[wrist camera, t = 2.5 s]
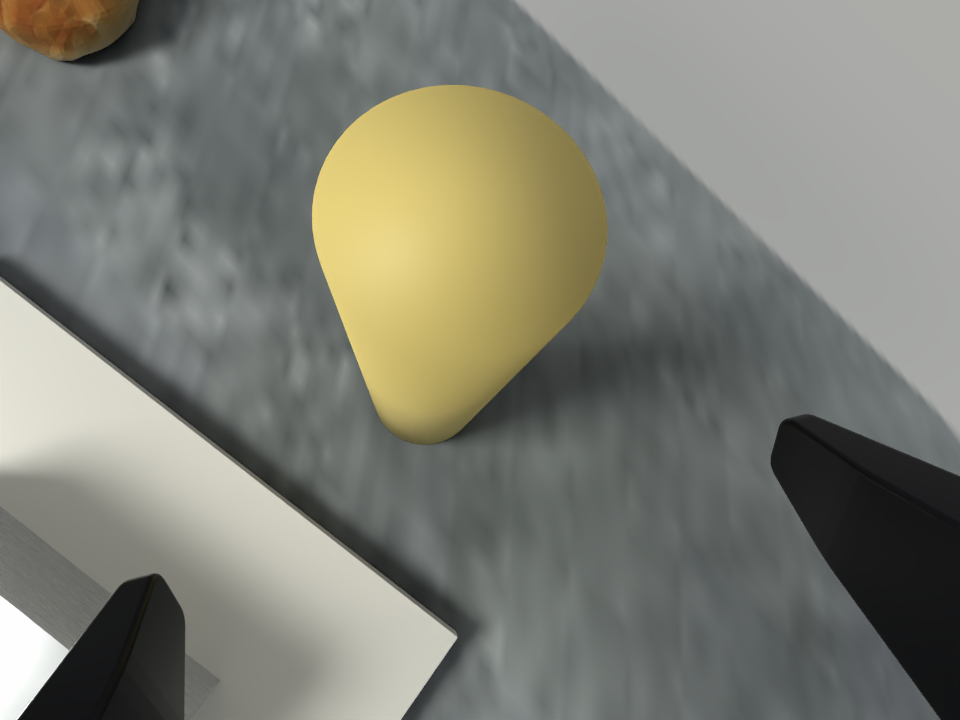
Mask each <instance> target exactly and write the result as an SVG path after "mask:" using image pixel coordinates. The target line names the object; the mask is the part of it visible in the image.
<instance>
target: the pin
mask: <svg viewBox="0 0 960 720" xmlns="http://www.w3.org/2000/svg"><path fill="white" fill-rule="evenodd" d="M312 227H313V235H314V241H315V247H316V251H317V254H318V257H319V260H320V263H321V266H322V269H323V272H324V274H325V277H326V280H327V282H328V285H329V288H330V290H331V293H332V295H333V298H334V301H335V303H336V306H337V309H338V311H339V314H340V316H341V319H342V322H343V324H344V327H345V330H346V332H347V335H348V337H349V340H350V343H351V345H352V348H353V351H354V353H355V356H356V358H357V361H358V364H359V366H360V369H361V372H362V374H363V377H364V379H365V382H366V385H367V387H368V390H369V393H370V395H371V398H372V401H373V403H374V406H375V408H376V411H377V413H378V416H379V418H380V419H381V421H382V423H383V424H384V425H385V426H386V428H387V429H388V430H389V431H390V432H392V433H393V434H394V435H395V436H397V437H398V438H400V439H402V440H404V441H407V442H410V443H414V444H421V445H428V444H435V443H440V442H442V441H445V440H447V439H449V438H451V437H453V436H454V435H456V434H457V433H458V432H459V431H460V430H461V429H462V428H463V427H464V426H465V425H466V424H467V423H468V422H469V421H470V420H471V419H472V418H473V417H474V416H475V415H476V414H477V413H478V412H479V411H480V410H481V409H482V408H483V407H484V406H485V405H486V404H487V403H488V402H489V401H490V400H491V399H492V398H493V397H494V396H495V395H496V394H497V393H498V392H499V391H500V390H501V389H502V388H503V387H504V386H505V385H506V384H507V383H508V382H509V381H510V380H511V379H512V378H513V377H514V376H515V375H516V374H517V373H518V372H519V371H520V370H521V369H522V368H523V367H524V366H525V365H526V364H527V363H528V362H529V361H530V360H531V359H532V358H533V357H534V356H535V355H536V354H537V353H538V352H539V351H540V350H541V349H542V348H543V347H544V346H545V345H546V344H547V343H548V342H549V341H550V340H551V339H552V338H553V337H554V336H555V335H556V334H557V333H558V332H559V331H560V330H561V329H562V328H563V327H564V326H565V325H566V324H567V323H568V322H569V321H570V320H571V319H572V318H573V317H574V316H575V315H576V313H577V312H578V311H579V310H580V309H581V308H582V306H583V305H584V303H585V302H586V300H587V298H588V297H589V295H590V294H591V292H592V290H593V288H594V286H595V284H596V282H597V279H598V277H599V275H600V272H601V268H602V265H603V261H604V258H605V251H606V245H607V216H606V208H605V203H604V199H603V195H602V191H601V188H600V185H599V183H598V180H597V178H596V175H595V173H594V171H593V169H592V167H591V166H590V164H589V162H588V160H587V158H586V157H585V155H584V154H583V152H582V151H581V150H580V148H579V147H578V146H577V144H576V143H575V142H574V140H573V139H572V138H571V137H570V136H569V135H568V134H567V133H566V132H565V131H564V130H563V129H562V128H561V127H560V126H559V125H558V124H556V123H555V122H554V121H553V120H552V119H550V118H549V117H548V116H546V115H545V114H543V113H542V112H540V111H539V110H537V109H536V108H534V107H533V106H531V105H529V104H527V103H525V102H523V101H521V100H519V99H517V98H514V97H512V96H509V95H506V94H504V93H501V92H498V91H494V90H489V89H485V88H481V87H473V86H465V85H441V86H432V87H425V88H421V89H416V90H412V91H408V92H405V93H403V94H400V95H397V96H395V97H392V98H390V99H388V100H386V101H384V102H382V103H380V104H378V105H377V106H375V107H373V108H372V109H370V110H369V111H368V112H366V113H365V114H363V115H362V116H361V117H359V118H358V119H357V120H356V121H355V122H354V123H353V124H352V125H351V126H350V127H349V128H348V129H347V130H346V131H345V132H344V133H343V134H342V136H341V137H340V138H339V139H338V141H337V142H336V143H335V145H334V146H333V148H332V150H331V151H330V153H329V155H328V156H327V158H326V160H325V162H324V165H323V167H322V169H321V172H320V174H319V177H318V181H317V184H316V188H315V192H314V199H313V207H312Z"/></svg>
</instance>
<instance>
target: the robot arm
mask: <svg viewBox="0 0 960 720" xmlns="http://www.w3.org/2000/svg"><path fill="white" fill-rule="evenodd" d="M771 466H772V470H773V472H774V474H775V476H776V478H777V480H778V481H779V483H780V485H781V487H782V488H783V490H784V492H785V493H786V495H787V497H788V498H789V500H790V502H791V504H792V505H793V507H794V509H795V510H796V512H797V514H798V516H799V517H800V519H801V521H802V522H803V524H804V526H805V527H806V529H807V531H808V533H809V534H810V536H811V538H812V539H813V541H814V543H815V545H816V546H817V548H818V549H819V551H820V553H821V554H822V556H823V557H824V559H825V560H826V562H827V563H828V565H829V566H830V568H831V569H832V571H833V572H834V573H835V575H836V576H837V578H838V579H839V580H840V582H841V583H842V584H843V586H844V587H845V589H846V590H847V591H848V593H849V594H850V595H851V597H852V598H853V600H854V601H855V602H856V604H857V605H858V607H859V608H860V609H861V611H862V612H863V613H864V615H865V616H866V618H867V619H868V620H869V622H870V623H871V624H872V626H873V627H874V629H875V630H876V631H877V633H878V634H879V635H880V637H881V638H882V640H883V641H884V642H885V644H886V645H887V646H888V648H889V649H890V651H891V652H892V653H893V655H894V656H895V657H896V659H897V660H898V662H899V663H900V664H901V666H902V667H903V668H904V670H905V671H906V673H907V674H908V675H909V677H910V678H911V679H912V681H913V682H914V684H915V685H916V686H917V688H918V689H919V690H920V692H921V693H922V695H923V696H924V697H925V699H926V700H927V701H928V703H929V704H930V706H931V707H932V708H933V710H934V711H935V712H936V714H937V715H938V717H939V718H940V719H941V720H960V476H958V475H956V474H953V473H951V472H948V471H946V470H944V469H941V468H939V467H936V466H934V465H932V464H929V463H927V462H924V461H922V460H920V459H917V458H915V457H912V456H910V455H908V454H905V453H903V452H900V451H898V450H896V449H893V448H891V447H888V446H886V445H884V444H881V443H879V442H876V441H874V440H872V439H869V438H867V437H864V436H862V435H860V434H857V433H855V432H852V431H850V430H848V429H845V428H843V427H840V426H838V425H836V424H833V423H831V422H828V421H826V420H824V419H821V418H819V417H816V416H814V415H809V414H805V415H800V416H796V417H792V418H788V419H785V420H783V421H782V423H781V424H780V426H779V429H778V432H777V436H776V440H775V443H774V447H773V451H772V454H771ZM185 631H186V627H185V617H184V613H183V610H182V608H181V606H180V604H179V602H178V601H177V599H176V597H175V596H174V594H173V592H172V591H171V589H170V588H169V586H168V584H167V583H166V581H165V579H164V578H163V577H162V576H161V575H160V574H157V573H152V574H148V575H143V576H139V577H135V578H131V579H128V580H126V581H124V582H123V583H122V584H121V585H120V586H119V587H118V588H117V589H116V591H115V592H114V593H113V595H112V596H111V597H110V598H109V600H108V601H107V602H106V604H105V605H104V606H103V608H102V609H101V610H100V611H99V613H98V614H97V615H96V617H95V618H94V619H93V621H92V622H91V623H90V625H89V626H88V627H87V628H86V630H85V631H84V632H83V634H82V635H81V636H80V638H79V639H78V640H77V642H76V643H75V644H74V645H73V647H72V648H71V649H70V651H69V652H68V653H67V655H66V656H65V657H64V658H63V660H62V661H61V662H60V664H59V665H58V666H57V668H56V669H55V670H54V672H53V673H52V674H51V675H50V677H49V678H48V679H47V681H46V682H45V683H44V685H43V686H42V687H41V689H40V690H39V691H38V692H37V694H36V695H35V696H34V698H33V699H32V700H31V702H30V703H29V704H28V705H27V707H26V708H25V709H24V711H23V712H22V713H21V715H20V716H19V717H18V719H17V720H184V714H185Z"/></svg>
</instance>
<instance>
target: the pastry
mask: <svg viewBox="0 0 960 720" xmlns="http://www.w3.org/2000/svg"><path fill="white" fill-rule="evenodd" d="M138 3H139V0H0V29H2V30H3V31H4V32H5V33H6V34H8V35H9V36H10V37H11V38H13V39H14V40H16V41H17V42H18V43H20V44H22V45H24V46H26V47H28V48H30V49H32V50H35V51H37V52H39V53H41V54H43V55H45V56H47V57H49V58H51V59H53V60H57V61H74V60H75V59H78V58H80V57H82V56H84V55H87V54H90V53H93V52H96V51H98V50H101V49H103V48H105V47H107V46H109V45H110V44H112V43H113V42H114V41H115V40H117V39H118V38H119V37H120V36H121V35H122V34H123V33H124V32H125V31H126V30H127V29H128V28H129V27H130V26H131V25H132V24H133V22H134V20H135V17H136V11H137V6H138Z"/></svg>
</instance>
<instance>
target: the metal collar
mask: <svg viewBox="0 0 960 720" xmlns="http://www.w3.org/2000/svg"><path fill="white" fill-rule="evenodd" d="M111 596H112V594H110V593H109V592H108V591H107V590H105V589H104V588H103V587H102V586H100V585H99V584H98V583H97V582H95V581H94V580H93V579H91V578H90V577H89V576H88V575H86V574H85V573H84V572H83V571H81V570H80V569H79V568H78V567H76V566H75V565H74V564H73V563H71V562H70V561H69V560H67V559H66V558H65V557H64V556H62V555H61V554H60V553H59V552H57V551H56V550H55V549H54V548H52V547H51V546H50V545H49V544H47V543H46V542H45V541H44V540H42V539H41V538H40V537H38V536H37V535H36V534H35V533H33V532H32V531H31V530H30V529H28V528H27V527H26V526H25V525H23V524H22V523H21V522H20V521H18V520H17V519H16V518H14V517H13V516H12V515H11V514H9V513H8V512H7V511H6V510H4V509H3V508H2V507H1V506H0V720H17V719H18V717H19V716H20V715H21V713H22V712H23V711H24V709H25V708H26V707H27V705H28V704H29V703H30V702H31V700H32V699H33V698H34V696H35V695H36V694H37V692H38V691H39V690H40V689H41V687H42V686H43V685H44V683H45V682H46V681H47V679H48V678H49V677H50V675H51V674H52V673H53V672H54V670H55V669H56V668H57V666H58V665H59V664H60V662H61V661H62V660H63V658H64V657H65V656H66V655H67V653H68V652H69V651H70V649H71V648H72V647H73V645H74V644H75V643H76V642H77V640H78V639H79V638H80V636H81V635H82V634H83V632H84V631H85V630H86V628H87V627H88V626H89V625H90V623H91V622H92V621H93V619H94V618H95V617H96V615H97V614H98V613H99V611H100V610H101V609H102V608H103V606H104V605H105V604H106V602H107V601H108V600H109V598H110V597H111ZM219 682H220V680H219V679H218V678H217V677H215V676H214V675H213V674H211V673H210V672H209V671H208V670H206V669H205V668H204V667H203V666H201V665H200V664H199V663H198V662H196V661H195V660H194V659H193V658H191V657H190V656H189V655H187V654H186V653H185V714H184V720H190V719H191V718H192V717H193V715H194V714H195V713H196V712H197V710H198V709H199V708H200V706H201V705H202V704H203V703H204V701H205V700H206V699H207V697H208V696H209V695H210V694H211V692H212V691H213V690H214V688H215V687H216V686H217V685H218V683H219Z"/></svg>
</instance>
